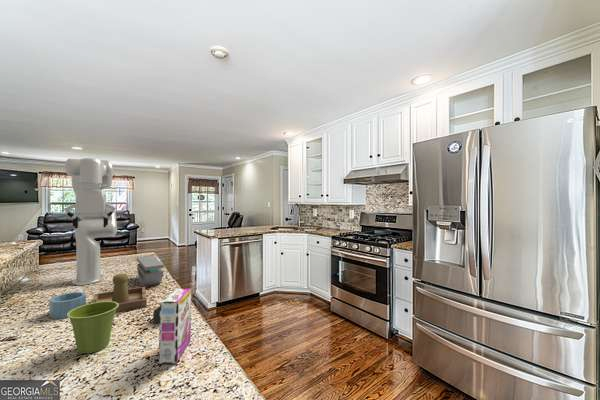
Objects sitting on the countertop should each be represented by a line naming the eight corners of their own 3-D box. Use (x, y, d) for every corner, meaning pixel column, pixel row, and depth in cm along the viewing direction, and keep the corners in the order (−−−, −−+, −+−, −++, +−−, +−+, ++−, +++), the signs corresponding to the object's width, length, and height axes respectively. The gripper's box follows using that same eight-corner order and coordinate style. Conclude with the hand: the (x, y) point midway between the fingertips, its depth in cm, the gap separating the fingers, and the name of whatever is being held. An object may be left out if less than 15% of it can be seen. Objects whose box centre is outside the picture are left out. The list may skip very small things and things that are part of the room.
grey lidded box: (163, 287, 128) (163, 264, 128) (145, 290, 123) (145, 267, 123) (153, 275, 147) (153, 255, 147) (136, 277, 142) (136, 257, 142)
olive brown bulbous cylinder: (119, 304, 104) (119, 277, 104) (107, 303, 105) (107, 275, 105) (132, 299, 110) (132, 272, 109) (121, 297, 111) (121, 271, 111)
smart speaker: (154, 316, 97) (154, 305, 97) (181, 312, 101) (181, 301, 101) (151, 327, 89) (151, 315, 89) (180, 322, 92) (180, 311, 92)
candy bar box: (177, 364, 69) (178, 302, 69) (158, 365, 69) (158, 302, 68) (191, 341, 80) (192, 287, 80) (174, 341, 80) (175, 287, 80)
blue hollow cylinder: (53, 310, 100) (54, 295, 100) (87, 305, 105) (87, 290, 105) (46, 321, 92) (46, 304, 92) (83, 314, 97) (83, 298, 97)
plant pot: (128, 340, 80) (128, 303, 80) (85, 363, 69) (85, 320, 69) (101, 333, 84) (101, 298, 84) (56, 354, 73) (56, 313, 73)
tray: (95, 300, 110) (95, 293, 110) (145, 293, 119) (145, 286, 119) (88, 317, 95) (88, 309, 95) (146, 307, 104) (146, 299, 104)
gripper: (116, 188, 120) (116, 225, 121) (66, 187, 111) (66, 227, 111) (115, 188, 114) (115, 227, 114) (62, 186, 105) (62, 229, 105)
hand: (90, 227), depth 113 cm, fingers open, 9 cm apart
